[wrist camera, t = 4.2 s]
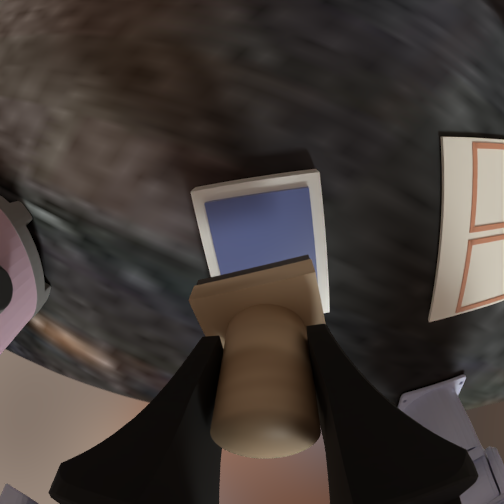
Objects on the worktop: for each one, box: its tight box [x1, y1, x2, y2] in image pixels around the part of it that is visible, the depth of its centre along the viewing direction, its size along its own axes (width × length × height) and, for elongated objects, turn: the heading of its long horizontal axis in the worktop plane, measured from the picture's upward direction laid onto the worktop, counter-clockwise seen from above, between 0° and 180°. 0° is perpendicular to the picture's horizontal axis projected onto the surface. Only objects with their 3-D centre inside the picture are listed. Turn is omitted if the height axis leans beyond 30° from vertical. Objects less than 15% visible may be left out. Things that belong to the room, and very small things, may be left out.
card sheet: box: [428, 137, 504, 322], centre depth 17 cm, size 14×12×1 cm
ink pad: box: [190, 169, 330, 313], centre depth 18 cm, size 9×7×2 cm
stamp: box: [189, 254, 326, 458], centre depth 10 cm, size 4×4×6 cm
